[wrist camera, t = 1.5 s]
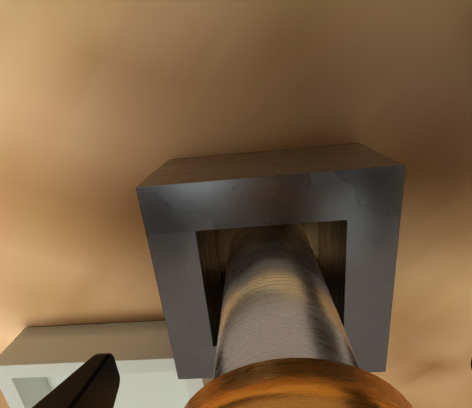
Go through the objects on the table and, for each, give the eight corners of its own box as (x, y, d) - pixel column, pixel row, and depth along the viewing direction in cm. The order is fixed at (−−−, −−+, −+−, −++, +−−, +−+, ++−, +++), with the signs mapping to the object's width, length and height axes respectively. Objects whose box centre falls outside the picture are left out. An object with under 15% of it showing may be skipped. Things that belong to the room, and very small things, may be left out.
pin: (316, 185, 13) (483, 415, 4) (317, 275, 15) (436, 594, 5) (212, 193, 14) (131, 424, 4) (223, 281, 15) (183, 591, 6)
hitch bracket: (358, 143, 12) (405, 165, 9) (351, 302, 15) (385, 371, 11) (168, 159, 13) (135, 187, 9) (194, 311, 16) (178, 379, 12)
